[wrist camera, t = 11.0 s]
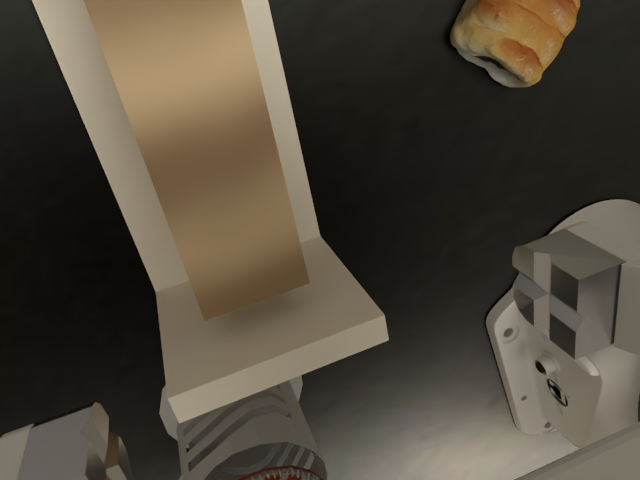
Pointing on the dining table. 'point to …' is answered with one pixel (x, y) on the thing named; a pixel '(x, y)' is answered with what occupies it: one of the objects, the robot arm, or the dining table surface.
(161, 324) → the peg frame
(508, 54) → the pastry
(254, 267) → the shelf board
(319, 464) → the french press
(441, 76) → the dining table surface
